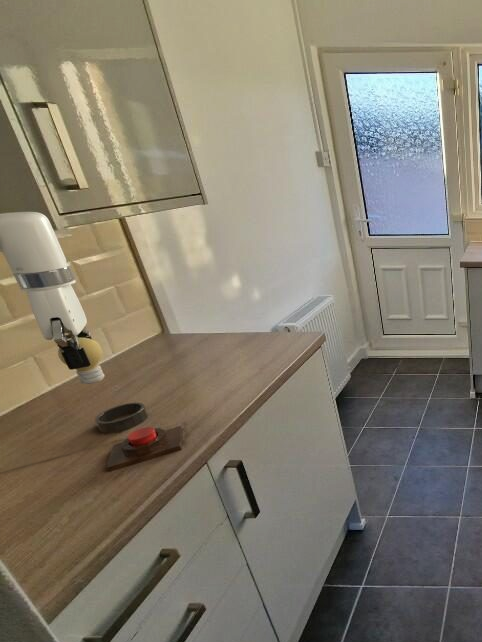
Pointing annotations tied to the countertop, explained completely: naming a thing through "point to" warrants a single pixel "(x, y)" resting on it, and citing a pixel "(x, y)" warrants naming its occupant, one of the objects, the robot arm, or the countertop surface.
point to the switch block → (145, 449)
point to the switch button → (142, 436)
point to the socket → (122, 424)
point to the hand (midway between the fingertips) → (84, 360)
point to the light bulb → (94, 355)
